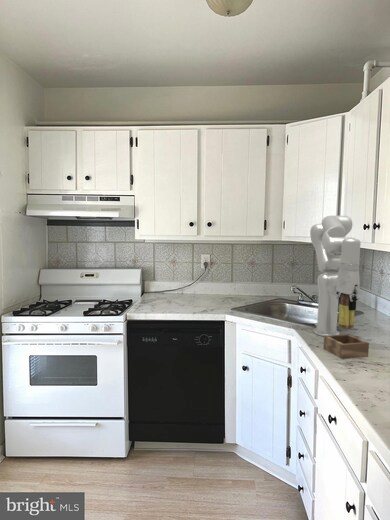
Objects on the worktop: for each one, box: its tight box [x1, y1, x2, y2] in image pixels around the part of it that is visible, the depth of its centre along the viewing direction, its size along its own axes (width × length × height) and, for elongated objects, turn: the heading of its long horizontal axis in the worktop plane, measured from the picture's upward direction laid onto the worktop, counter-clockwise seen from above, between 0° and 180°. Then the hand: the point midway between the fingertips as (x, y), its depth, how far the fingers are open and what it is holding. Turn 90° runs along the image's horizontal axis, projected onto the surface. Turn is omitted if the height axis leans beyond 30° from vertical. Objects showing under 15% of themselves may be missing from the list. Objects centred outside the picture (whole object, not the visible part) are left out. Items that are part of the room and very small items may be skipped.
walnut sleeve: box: [323, 333, 370, 360], centre depth 162 cm, size 13×13×6 cm
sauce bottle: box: [338, 293, 355, 330], centre depth 161 cm, size 6×6×20 cm
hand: (346, 307), depth 161 cm, fingers closed on sauce bottle, 6 cm apart
